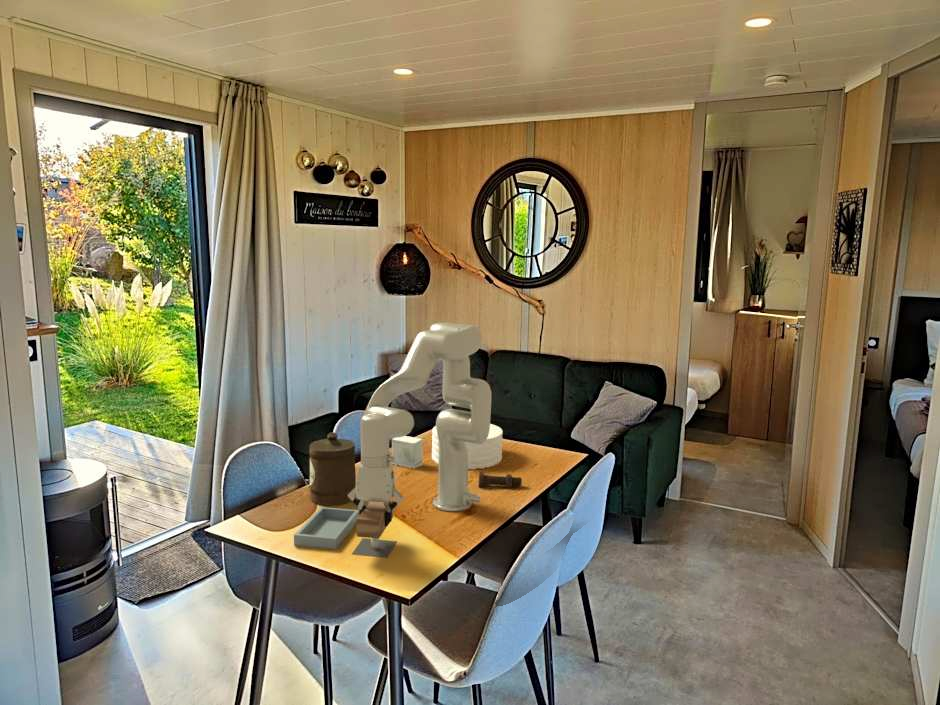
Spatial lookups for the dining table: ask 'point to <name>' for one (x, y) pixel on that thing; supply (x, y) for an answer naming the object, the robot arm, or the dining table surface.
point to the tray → (326, 528)
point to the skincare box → (407, 451)
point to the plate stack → (477, 449)
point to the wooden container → (332, 470)
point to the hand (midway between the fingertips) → (375, 522)
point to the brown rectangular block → (372, 520)
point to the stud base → (376, 552)
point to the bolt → (499, 480)
